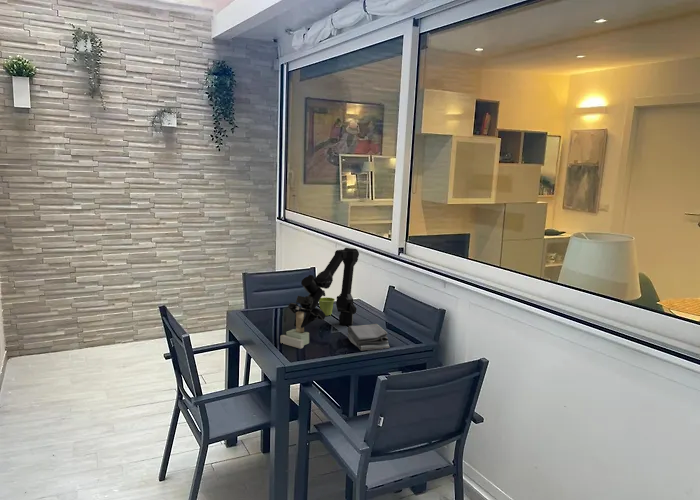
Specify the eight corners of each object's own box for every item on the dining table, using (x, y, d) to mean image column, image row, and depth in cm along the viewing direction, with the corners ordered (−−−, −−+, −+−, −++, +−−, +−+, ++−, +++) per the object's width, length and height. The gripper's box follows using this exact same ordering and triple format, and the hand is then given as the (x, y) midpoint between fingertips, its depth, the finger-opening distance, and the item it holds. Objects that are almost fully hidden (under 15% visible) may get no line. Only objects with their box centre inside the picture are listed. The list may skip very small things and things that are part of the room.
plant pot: (315, 315, 275) (315, 300, 273) (320, 311, 283) (321, 296, 282) (331, 317, 272) (331, 302, 271) (336, 313, 281) (337, 298, 280)
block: (294, 339, 235) (294, 328, 234) (309, 343, 230) (309, 332, 229) (286, 342, 230) (286, 331, 230) (301, 346, 225) (301, 335, 225)
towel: (376, 336, 243) (376, 321, 242) (390, 349, 226) (391, 332, 225) (346, 339, 239) (346, 323, 237) (358, 352, 221) (358, 335, 220)
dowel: (304, 338, 233) (304, 311, 231) (302, 341, 229) (302, 313, 227) (297, 338, 233) (297, 311, 231) (295, 340, 230) (295, 313, 228)
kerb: (283, 342, 231) (283, 334, 231) (303, 347, 224) (303, 340, 224) (280, 343, 230) (280, 335, 229) (300, 348, 223) (300, 341, 222)
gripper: (290, 285, 236) (274, 313, 229) (322, 292, 226) (305, 321, 218) (301, 299, 244) (285, 326, 237) (332, 305, 233) (317, 334, 226)
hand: (298, 326), depth 229 cm, fingers closed on dowel, 4 cm apart
